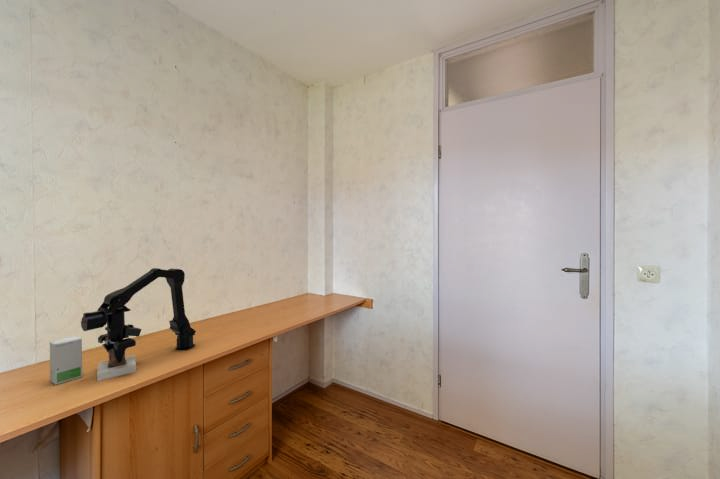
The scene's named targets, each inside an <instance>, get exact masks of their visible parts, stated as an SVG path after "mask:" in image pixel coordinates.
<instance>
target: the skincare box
mask: <svg viewBox="0 0 720 479" xmlns="http://www.w3.org/2000/svg"><path fill="white" fill-rule="evenodd" d="M82 377H83V339H82V337H80V336H78V335H75V336H70V337H65V338H59V339H55V340H51V341H49V381H50V382H51V383H52V384H54V386H55V385H56V386H57V385H59V384H62V383H66V382H69V381H73V380H76V379H79V378H82Z"/></svg>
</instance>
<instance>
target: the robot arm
mask: <svg viewBox="0 0 720 479" xmlns="http://www.w3.org/2000/svg"><path fill="white" fill-rule="evenodd" d="M185 277H186V276H185V271H184V270H182V269H180V268H168V269H161V268H158V267H157V268H156V267H153V268H151V269H150V270H149V271H147V272H146V273H144V274H142V275H141V276H140V277H138V278H137V279H135V280H134V281H131V283H129V284H128V285H127V286H125V287H123V288H120V289H117V290H115V291H112V292H110V293H109V294H107V295H105V296H104V299H103V302H102V304H101V305H100V306H99V307H98V308H97V310H96V311H92V312H91V311H90V312H84V313H82V314H83V315H82V318H81V321H80V326H81V328H82V331H84V332H87V331H92V330H96V329H101V328H103V327H104V330H105V331H106V333H104V334H100V335H99V336H98V337H97V342H98V344H101V346H102V347H103V348H104V350H105V351H106V352H107V354H108V355H109V350H112V352H113V354H114V356H115V358H116V360H117V362H118V363H120V362H122V359H123V356H124V353H125V354H126V350H127V349H129V348H133V347H135V346H137V345H136V344H137V343H136V340H135V339H134V338H130V337H136V338H137V337H140V334H141V332H142V328H139V327H135V326H134V324H126V320H125V319H126V318H125V316H126V315H125V312H130V311H131V308H128V307H127V306H126V305H127V304H128V303H129V302H130V300H131V299H132V298H133V296H134V295H135V294H137V293H138V292H140V291H142V289H144V288H146V287H147V286H149V285H150V284H151V283H153V282H154V281H155V280H157V279H158V278H164V279H165V280H166V283H167V284H168V287H169V288H170V294H171V296H170V297H171V302H172V312H173V317H172V319H171V320H168V322H169V329H170V330H171V331H172V332H173V333H174V334H175V336H177V338H176V347H175V348H174V349H175V350H178V351H180V350H181V351H187V350H190V349H191V348H193V347H195V346H196V343H194V336H195V335H196V329H194V328H192V327H191V323H190V321H189V319H188V317H187V315H186V310H185V300H184V292H183V285H184V283H185ZM129 336H130V337H129Z"/></svg>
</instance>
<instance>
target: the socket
mask: <svg viewBox="0 0 720 479" xmlns="http://www.w3.org/2000/svg"><path fill="white" fill-rule="evenodd" d="M136 372H137V363H136V355H135V354H134V355H129V356H125V365H121V366H116V367H112V368H110V367H109V360H107V361H101V362H99V363H98V365H97V372H96V375H97V376H96V377H97V378H96V379H97V382H100V381H103V380H108V379H112V378H116V377H120V376H124V375H128V374H132V373H136Z"/></svg>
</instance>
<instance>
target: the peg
mask: <svg viewBox="0 0 720 479" xmlns="http://www.w3.org/2000/svg"><path fill="white" fill-rule="evenodd" d="M125 357H126V352H125V353H124V356H123V359H122V362H120V363H118V362H117V360H116V358H115V356H114V354H113V352H112V350H109V354H108V361H109V367H110V368H112V367H116V366H121V365H125Z"/></svg>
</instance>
